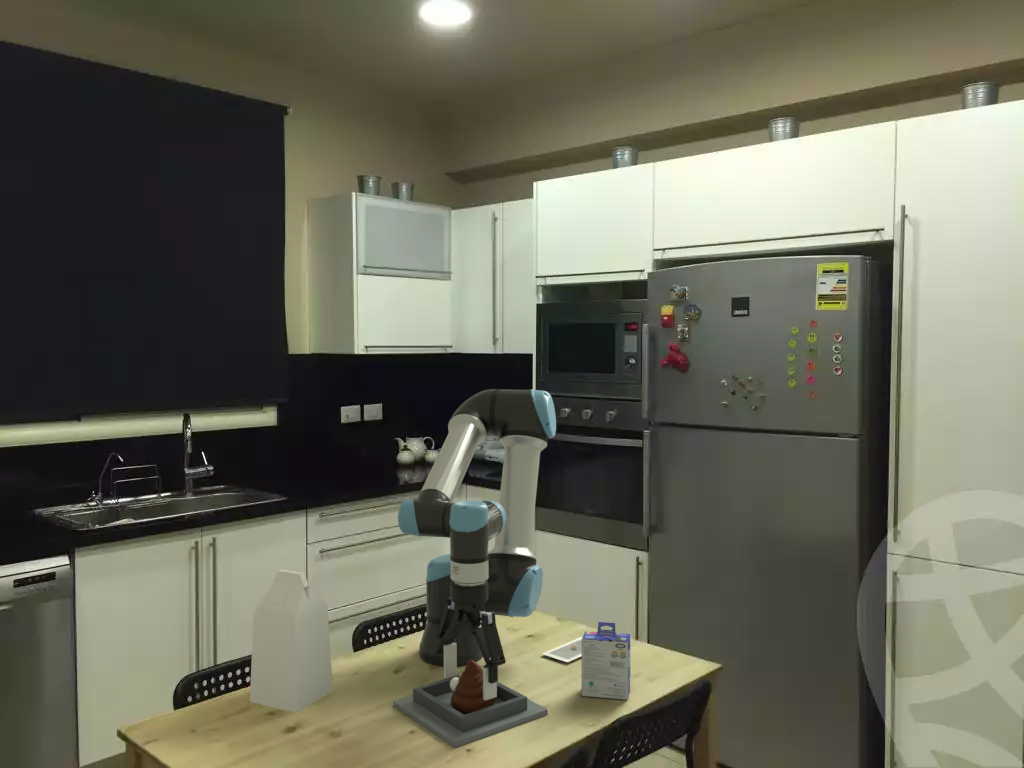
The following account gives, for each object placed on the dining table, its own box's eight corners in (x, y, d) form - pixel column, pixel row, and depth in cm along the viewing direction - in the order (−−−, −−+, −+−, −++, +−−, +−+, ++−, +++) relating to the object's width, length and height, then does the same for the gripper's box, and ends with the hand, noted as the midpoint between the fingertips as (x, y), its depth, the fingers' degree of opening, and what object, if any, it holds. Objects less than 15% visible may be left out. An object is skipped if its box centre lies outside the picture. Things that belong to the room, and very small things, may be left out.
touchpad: (541, 658, 193) (541, 649, 193) (580, 641, 205) (580, 632, 204) (567, 667, 188) (567, 657, 188) (606, 649, 199) (606, 640, 199)
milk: (332, 690, 174) (331, 568, 173) (296, 712, 164) (295, 582, 162) (287, 681, 179) (286, 561, 178) (249, 701, 169) (248, 575, 167)
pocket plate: (393, 706, 167) (392, 688, 166) (481, 678, 180) (481, 663, 180) (454, 747, 149) (454, 728, 149) (547, 714, 163) (547, 696, 163)
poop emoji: (476, 719, 158) (476, 671, 158) (440, 709, 163) (440, 662, 162) (504, 700, 167) (504, 654, 166) (469, 691, 171) (469, 646, 171)
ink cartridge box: (630, 690, 175) (631, 622, 174) (629, 701, 169) (629, 631, 168) (584, 686, 177) (584, 619, 176) (580, 697, 171) (581, 627, 170)
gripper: (419, 570, 171) (419, 671, 172) (492, 599, 151) (492, 713, 152) (449, 564, 176) (450, 663, 177) (524, 592, 156) (523, 702, 157)
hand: (469, 686), depth 165 cm, fingers open, 13 cm apart
